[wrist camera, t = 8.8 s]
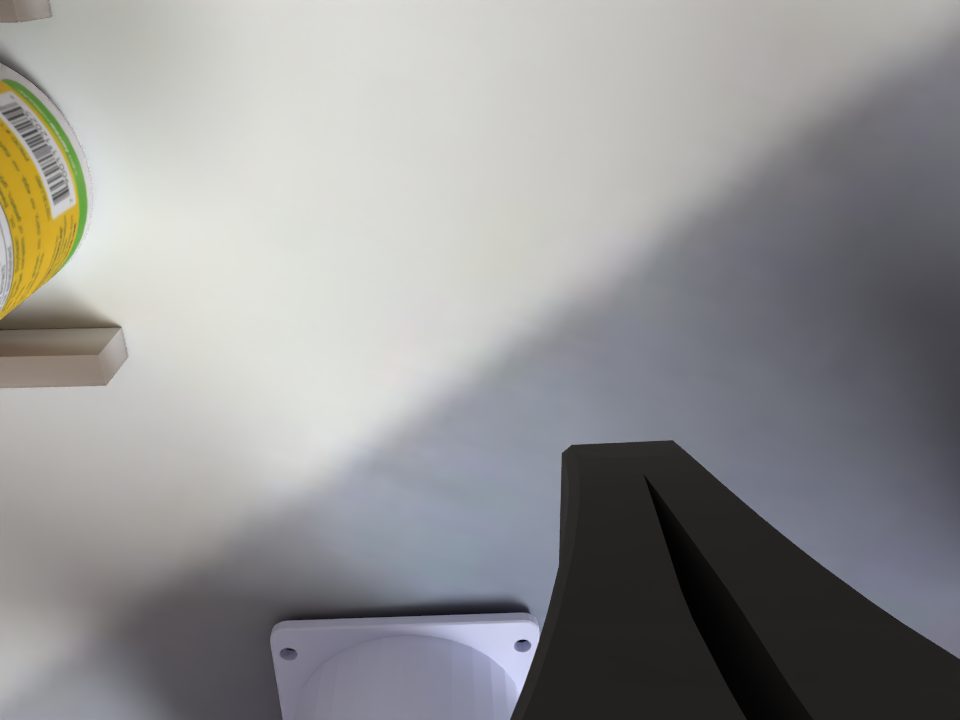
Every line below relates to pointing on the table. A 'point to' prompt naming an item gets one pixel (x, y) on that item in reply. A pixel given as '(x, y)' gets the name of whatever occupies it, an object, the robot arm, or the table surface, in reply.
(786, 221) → the table surface
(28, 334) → the long brown wooden brick
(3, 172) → the supplement bottle
